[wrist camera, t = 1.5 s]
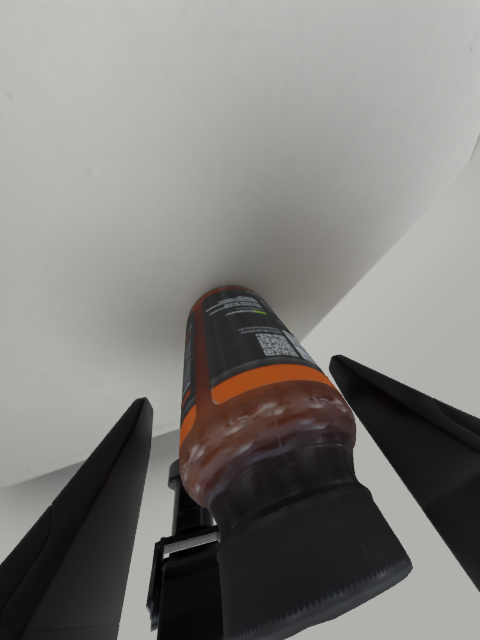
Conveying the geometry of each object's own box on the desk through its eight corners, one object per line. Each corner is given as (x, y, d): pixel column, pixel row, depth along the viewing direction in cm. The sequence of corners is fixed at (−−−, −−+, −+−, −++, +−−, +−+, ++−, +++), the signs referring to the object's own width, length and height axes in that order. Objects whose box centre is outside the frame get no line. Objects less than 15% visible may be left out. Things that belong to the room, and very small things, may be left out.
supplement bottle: (206, 363, 15) (227, 646, 5) (170, 302, 11) (37, 762, 2) (275, 337, 15) (421, 565, 5) (258, 269, 11) (563, 539, 2)
